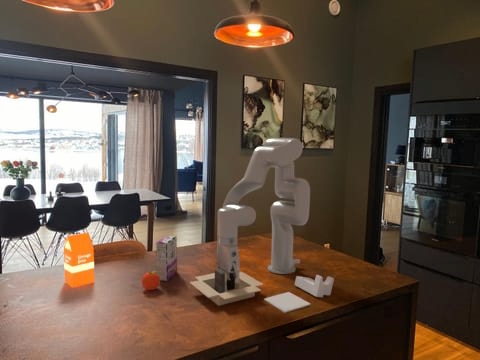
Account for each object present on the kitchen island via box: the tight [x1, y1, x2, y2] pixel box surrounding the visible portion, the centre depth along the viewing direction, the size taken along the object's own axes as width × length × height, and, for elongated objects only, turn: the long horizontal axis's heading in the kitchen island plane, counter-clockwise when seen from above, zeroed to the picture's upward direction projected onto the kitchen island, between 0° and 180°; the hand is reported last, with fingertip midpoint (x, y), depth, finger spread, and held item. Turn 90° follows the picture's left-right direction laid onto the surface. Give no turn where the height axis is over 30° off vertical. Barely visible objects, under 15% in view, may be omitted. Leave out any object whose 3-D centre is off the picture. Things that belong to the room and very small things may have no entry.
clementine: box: [141, 270, 161, 291], centre depth 145 cm, size 8×7×7 cm
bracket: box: [293, 274, 335, 298], centre depth 147 cm, size 13×7×8 cm, turn 30°
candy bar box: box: [155, 235, 178, 282], centre depth 158 cm, size 11×5×16 cm, turn 168°
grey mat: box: [263, 291, 311, 314], centre depth 136 cm, size 12×12×1 cm
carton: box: [189, 271, 264, 306], centre depth 143 cm, size 24×24×4 cm
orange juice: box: [63, 232, 95, 289], centre depth 150 cm, size 8×9×20 cm
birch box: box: [214, 268, 240, 294], centre depth 143 cm, size 8×5×9 cm, turn 122°
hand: (226, 286), depth 143 cm, fingers closed on birch box, 5 cm apart
